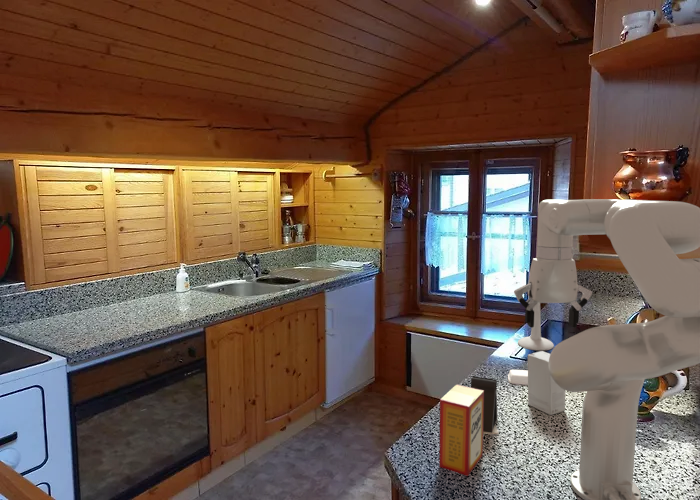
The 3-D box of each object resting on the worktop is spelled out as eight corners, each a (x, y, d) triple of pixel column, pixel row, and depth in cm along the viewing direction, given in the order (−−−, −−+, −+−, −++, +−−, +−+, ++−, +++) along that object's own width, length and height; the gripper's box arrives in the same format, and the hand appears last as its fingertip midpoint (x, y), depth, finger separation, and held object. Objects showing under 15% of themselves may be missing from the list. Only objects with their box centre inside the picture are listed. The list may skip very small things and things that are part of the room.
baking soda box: (455, 447, 117) (456, 382, 114) (482, 455, 113) (484, 389, 111) (439, 466, 109) (439, 397, 107) (467, 476, 105) (469, 405, 103)
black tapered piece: (474, 413, 132) (475, 370, 131) (497, 417, 130) (498, 374, 128) (467, 428, 124) (468, 383, 123) (491, 433, 122) (492, 387, 120)
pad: (498, 434, 122) (498, 432, 122) (469, 433, 123) (469, 432, 123) (489, 415, 132) (489, 413, 132) (463, 414, 133) (463, 413, 133)
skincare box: (565, 411, 134) (567, 358, 132) (549, 416, 131) (551, 362, 129) (541, 399, 141) (543, 349, 139) (525, 404, 138) (527, 353, 136)
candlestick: (542, 353, 179) (545, 271, 175) (511, 344, 188) (513, 267, 184) (560, 345, 187) (563, 267, 183) (529, 337, 197) (531, 263, 192)
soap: (536, 378, 157) (537, 369, 157) (539, 386, 151) (539, 377, 150) (507, 376, 159) (507, 367, 159) (508, 384, 153) (508, 375, 152)
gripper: (586, 251, 116) (582, 321, 119) (511, 251, 118) (509, 321, 120) (600, 255, 109) (596, 330, 111) (520, 256, 110) (517, 330, 113)
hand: (551, 325), depth 116 cm, fingers open, 9 cm apart
